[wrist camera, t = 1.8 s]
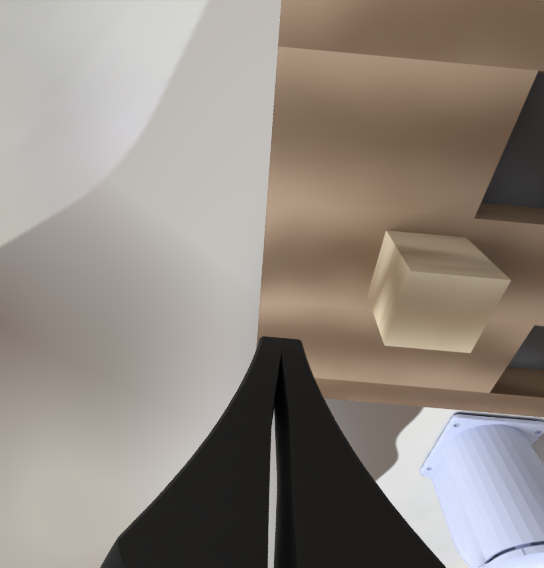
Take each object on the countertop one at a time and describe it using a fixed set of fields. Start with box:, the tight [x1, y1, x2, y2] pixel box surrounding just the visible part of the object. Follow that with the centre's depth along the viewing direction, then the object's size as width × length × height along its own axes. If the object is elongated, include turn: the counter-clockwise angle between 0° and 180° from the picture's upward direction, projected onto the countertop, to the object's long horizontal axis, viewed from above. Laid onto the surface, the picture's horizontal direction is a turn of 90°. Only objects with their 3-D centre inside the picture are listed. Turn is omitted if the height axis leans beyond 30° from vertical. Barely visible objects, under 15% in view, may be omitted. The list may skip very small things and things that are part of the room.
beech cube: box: [367, 230, 511, 353], centre depth 16 cm, size 4×4×4 cm
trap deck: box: [257, 0, 544, 417], centre depth 19 cm, size 22×28×3 cm
